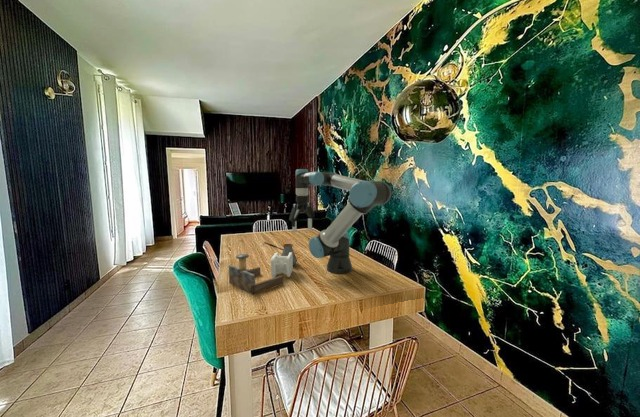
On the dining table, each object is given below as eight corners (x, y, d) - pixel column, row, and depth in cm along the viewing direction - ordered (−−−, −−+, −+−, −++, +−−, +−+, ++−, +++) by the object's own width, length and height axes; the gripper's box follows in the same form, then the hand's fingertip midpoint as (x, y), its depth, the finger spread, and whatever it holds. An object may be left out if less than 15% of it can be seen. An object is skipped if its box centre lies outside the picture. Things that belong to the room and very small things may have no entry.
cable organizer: (289, 279, 140) (289, 258, 138) (270, 279, 140) (269, 258, 139) (293, 270, 154) (292, 251, 153) (275, 270, 155) (274, 251, 154)
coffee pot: (297, 262, 171) (297, 239, 170) (296, 267, 160) (296, 243, 159) (265, 262, 170) (264, 240, 169) (261, 268, 159) (261, 244, 158)
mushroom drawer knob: (251, 272, 151) (250, 255, 151) (240, 275, 146) (239, 257, 146) (245, 269, 156) (244, 253, 155) (234, 272, 151) (233, 255, 150)
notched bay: (283, 283, 134) (282, 266, 133) (252, 294, 121) (252, 275, 120) (259, 273, 149) (258, 258, 148) (229, 282, 136) (228, 265, 135)
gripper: (311, 194, 168) (311, 227, 170) (282, 196, 148) (283, 232, 150) (320, 194, 163) (320, 228, 165) (291, 196, 144) (292, 234, 146)
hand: (302, 230), depth 158 cm, fingers open, 13 cm apart
